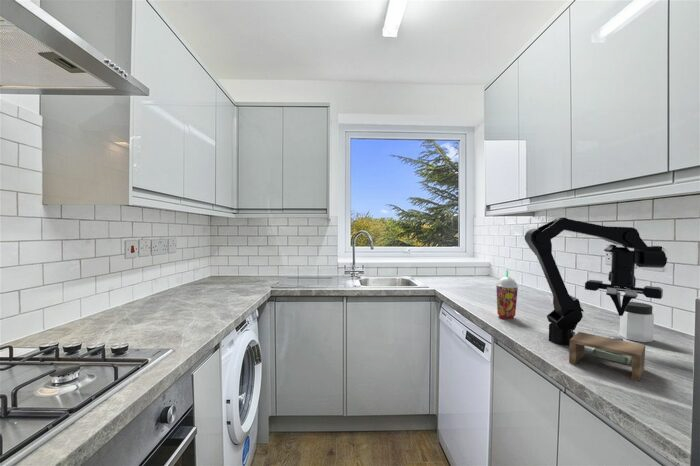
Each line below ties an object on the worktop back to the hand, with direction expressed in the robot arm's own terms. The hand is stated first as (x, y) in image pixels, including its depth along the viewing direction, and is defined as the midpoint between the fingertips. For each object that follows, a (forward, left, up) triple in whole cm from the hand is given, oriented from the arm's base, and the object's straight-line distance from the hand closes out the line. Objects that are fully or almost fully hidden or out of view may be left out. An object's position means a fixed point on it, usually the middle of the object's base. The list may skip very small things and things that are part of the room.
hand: (620, 315), depth 107 cm
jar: (+2, +17, -11) cm, 20 cm away
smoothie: (-39, +9, -11) cm, 41 cm away
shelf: (0, -22, -11) cm, 24 cm away
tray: (0, -10, -11) cm, 15 cm away
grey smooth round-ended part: (0, -13, -10) cm, 16 cm away
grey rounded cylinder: (0, -8, -10) cm, 13 cm away
